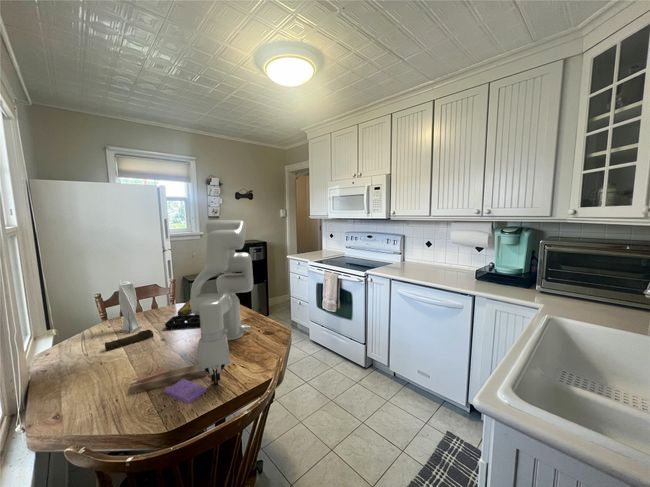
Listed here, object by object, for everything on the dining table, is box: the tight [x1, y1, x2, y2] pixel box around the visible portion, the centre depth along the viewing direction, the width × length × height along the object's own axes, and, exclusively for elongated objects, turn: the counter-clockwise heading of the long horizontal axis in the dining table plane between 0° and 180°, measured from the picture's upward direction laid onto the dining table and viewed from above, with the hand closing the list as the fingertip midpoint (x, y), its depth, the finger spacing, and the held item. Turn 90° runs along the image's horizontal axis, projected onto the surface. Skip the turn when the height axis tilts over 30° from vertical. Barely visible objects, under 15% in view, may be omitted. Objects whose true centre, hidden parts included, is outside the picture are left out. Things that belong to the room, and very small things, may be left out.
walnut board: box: [129, 364, 207, 395], centre depth 99 cm, size 24×5×3 cm, turn 114°
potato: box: [177, 299, 192, 316], centre depth 165 cm, size 8×13×8 cm, turn 140°
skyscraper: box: [118, 278, 143, 334], centre depth 142 cm, size 8×8×28 cm
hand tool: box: [104, 329, 154, 352], centre depth 128 cm, size 19×4×5 cm, turn 133°
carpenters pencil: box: [131, 370, 167, 384], centre depth 97 cm, size 10×1×1 cm, turn 126°
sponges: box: [164, 379, 207, 405], centre depth 93 cm, size 7×13×2 cm, turn 64°
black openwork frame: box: [164, 314, 200, 331], centre depth 151 cm, size 18×30×4 cm, turn 111°
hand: (215, 382), depth 97 cm, fingers closed
